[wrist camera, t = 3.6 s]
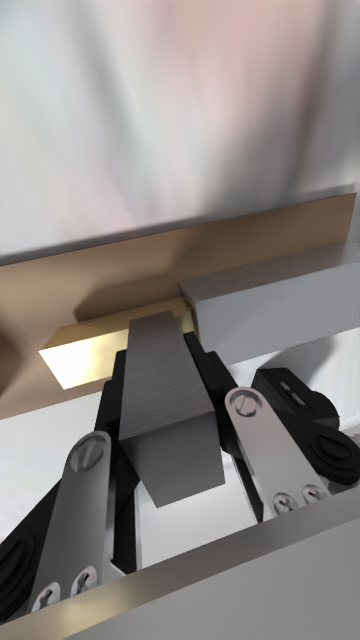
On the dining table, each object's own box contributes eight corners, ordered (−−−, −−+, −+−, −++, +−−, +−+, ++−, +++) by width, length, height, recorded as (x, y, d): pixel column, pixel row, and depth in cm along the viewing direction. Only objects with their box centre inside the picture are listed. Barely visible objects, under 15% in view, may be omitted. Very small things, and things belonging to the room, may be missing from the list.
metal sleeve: (177, 280, 14) (194, 302, 10) (342, 241, 16) (420, 245, 12) (187, 334, 17) (205, 371, 12) (331, 296, 18) (393, 317, 14)
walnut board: (-180, 303, 12) (-206, 309, 11) (343, 194, 15) (356, 192, 14) (-41, 423, 17) (-51, 434, 16) (319, 321, 21) (328, 325, 20)
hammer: (55, 321, 13) (-124, 517, 4) (335, 253, 15) (615, 283, 6) (80, 365, 15) (-6, 566, 6) (326, 298, 17) (533, 372, 8)
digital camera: (269, 423, 27) (307, 479, 21) (236, 427, 26) (266, 488, 20) (294, 366, 23) (352, 415, 17) (256, 368, 22) (303, 422, 16)
